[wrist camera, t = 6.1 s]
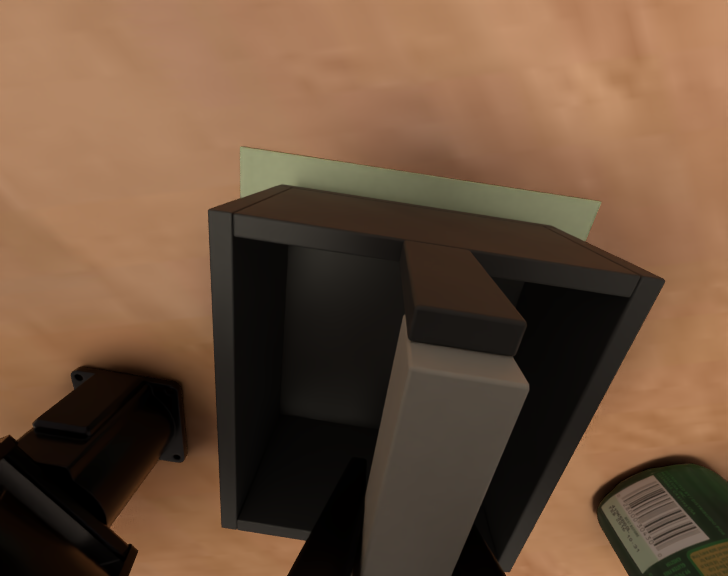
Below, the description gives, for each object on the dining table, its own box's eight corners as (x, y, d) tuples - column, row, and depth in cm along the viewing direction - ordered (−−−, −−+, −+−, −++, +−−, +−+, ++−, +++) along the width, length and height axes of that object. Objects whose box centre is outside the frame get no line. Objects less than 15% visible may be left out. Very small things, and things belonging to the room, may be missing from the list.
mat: (502, 433, 20) (504, 437, 20) (243, 392, 20) (241, 396, 20) (597, 200, 15) (602, 201, 15) (242, 146, 15) (239, 146, 15)
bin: (472, 443, 18) (564, 762, 9) (271, 412, 18) (147, 696, 9) (552, 225, 13) (938, 408, 4) (281, 183, 13) (35, 268, 4)
